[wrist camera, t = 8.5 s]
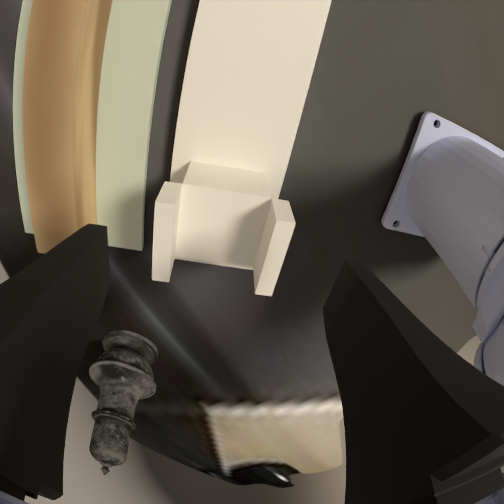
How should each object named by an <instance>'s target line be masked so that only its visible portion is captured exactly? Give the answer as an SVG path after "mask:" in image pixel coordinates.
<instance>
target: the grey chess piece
mask: <svg viewBox="0 0 504 504" xmlns="http://www.w3.org/2000/svg"><path fill="white" fill-rule="evenodd" d="M102 346H103V348H104V350H105V352H104V353H103V354H102V355H101V356H100V357H99V358H98V359H97V360H96V362H95V363H93V364H92V365H91V366H90V369H89V374H90V377H91V379H92V380H93V382H94V383H95V384H96V385H97V386H99V387H100V398H99V402H98V406H97V410H96V411H93V412H92V418H93V419H94V420H95V424H94V428H93V433H92V438H91V442H90V452H91V455H92V456H93V457H94V458H95V459H96V460H97V461H99V462H100V464H102V465H103V467H102V468H101V469H102V472H103V474H104V475H106V474H107V473H108V472H109V469H108V468H109V467H112V466H117V465H121V464H122V463H124V462H125V460H126V458H127V452H128V445H129V438H130V432H131V431H133V430H135V429H136V424H135V423H134V422H133V419H134V414H135V408H136V404H137V402H138V400H139V399H145V398H148V397H150V396H152V395H153V394H154V393H155V392H156V384H155V381H154V375H153V372H152V368H151V366H150V365H152V364H153V363H155V362H156V360H157V359H158V350H157V348H156V346H155V345H154V344H153V343H152V342H151V341H150V340H149V339H148V338H146V337H144V336H142V335H140V334H138V333H135V332H132V331H127V330H114V331H110V332H108V333H106V334H105V335H104V337H103V340H102Z"/></svg>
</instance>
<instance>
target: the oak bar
mask: <svg viewBox="0 0 504 504" xmlns="http://www.w3.org/2000/svg"><path fill="white" fill-rule="evenodd" d="M112 1H113V0H33V3H32V9H31V14H30V21H29V27H28V35H27V43H26V53H25V64H24V80H23V143H24V159H25V171H26V181H27V190H28V198H29V206H30V212H31V219H32V225H33V231H34V236H35V241H36V246H37V251H38V252H39V253H44V254H45V253H47V252H48V251H49V250H51V249H52V248H54V247H55V246H56V245H58V244H59V243H61V242H62V241H63V240H65V239H66V238H67V237H69V236H70V235H72V234H73V233H75V232H76V231H77V230H79V229H80V228H82V227H84V226H85V225H87V224H96V225H97V208H96V133H97V114H98V99H99V88H100V78H101V69H102V60H103V53H104V46H105V39H106V33H107V27H108V21H109V16H110V11H111V6H112Z"/></svg>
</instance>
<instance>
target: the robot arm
mask: <svg viewBox="0 0 504 504" xmlns="http://www.w3.org/2000/svg"><path fill="white" fill-rule="evenodd" d="M435 120H437V124H436V126H434V121H435ZM503 158H504V151H502V150H501V149H499V148H498V147H496V146H494V145H493V144H491V143H489V142H487V141H486V140H484V139H482V138H480V137H479V136H477V135H475V134H473V133H471V132H469V131H468V130H466V129H464V128H462V127H460V126H458V125H456V124H454V123H452V122H450V121H448V120H446V119H444V118H442V117H440V116H438V115H436V114H434V113H432V112H425V113H423V115H422V117H421V119H420V122H419V125H418V128H417V131H416V134H415V137H414V139H413V142H412V145H411V148H410V150H409V153H408V156H407V158H406V161H405V163H404V166H403V169H402V171H401V174H400V176H399V179H398V181H397V184H396V186H395V189H394V191H393V194H392V196H391V198H390V201H389V203H388V205H387V208H386V210H385V212H384V215H383V217H382V220H381V222H382V225H383V226H384V227H385V228H386V229H390V230H395V231H400V232H404V233H408V234H413V235H417V236H422V237H425V238H426V239H427V241H428V242H429V243H430V244H431V246H432V247H433V248H434V250H435V251H436V252H437V254H438V255H439V256H440V258H441V259H442V260H443V262H444V263H445V265H446V266H447V267H448V269H449V270H450V271H451V273H452V274H453V276H454V277H455V279H456V280H457V281H458V283H459V284H460V286H461V287H462V289H463V290H464V292H465V293H466V295H467V296H468V298H469V299H470V301H471V302H472V304H473V305H474V307H475V309H476V310H477V317H476V320H475V322H474V323H473V326H472V327H473V328H474V330H475V332H476V333H477V335H478V337H479V339H480V340H481V344H480V345H479V347H478V349H477V351H476V355H475V358H474V366H472V365H471V364H470V363H468V362H467V361H466V360H464V359H463V358H462V357H460V356H459V355H458V354H457V353H455V352H454V351H453V350H452V349H451V348H449V347H448V346H447V345H446V344H445V343H444V342H442V341H441V340H440V339H439V338H438V337H437V336H436V335H434V334H433V333H432V332H431V331H430V330H429V329H428V328H427V327H426V326H425V325H424V324H423V323H422V322H421V321H420V320H419V319H418V318H417V317H416V316H415V315H414V314H413V313H412V312H411V311H410V310H409V309H408V308H407V307H406V306H405V305H404V304H403V303H402V302H401V301H400V300H399V299H398V298H397V297H396V296H395V295H394V294H393V293H392V292H391V291H390V290H389V289H388V288H387V287H386V286H385V285H384V284H383V283H382V282H381V281H380V280H379V279H378V278H377V277H376V276H375V275H374V274H373V273H372V272H371V271H370V270H369V269H367V268H366V267H365V266H364V265H363V264H360V263H353V262H347V261H345V262H344V264H343V266H342V269H341V271H340V273H339V275H338V277H337V279H336V282H335V284H334V286H333V288H332V290H331V292H330V294H329V296H328V298H327V300H326V303H325V305H324V307H323V314H324V324H325V332H326V338H327V342H328V346H329V351H330V355H331V359H332V363H333V367H334V371H335V375H336V379H337V383H338V387H339V391H340V396H341V401H342V407H343V416H344V426H345V441H346V492H345V504H504V473H503V474H502V472H501V469H500V467H502V466H504V159H503ZM395 221H397V223H396V224H393V223H394V222H395ZM110 280H111V277H110V265H109V251H108V233H107V226H103V225H96V224H87V225H85V226H84V227H82V228H80V229H79V230H77V231H76V232H75V233H73V234H72V235H70V236H69V237H67V238H66V239H65V240H63V241H62V242H61V243H59V244H58V245H56V246H55V247H54V248H52V249H51V250H49V251H48V252H47V253H45V254H44V255H43V256H41V257H40V258H38V259H37V260H35V261H34V262H32V263H31V264H30V265H28V266H27V267H25V268H24V269H22V270H21V271H19V272H18V273H17V274H15V275H14V276H12V277H11V278H9V279H8V280H6V281H5V282H3V283H2V284H0V504H29V503H27V502H24V499H25V495H26V496H29V497H31V498H34V499H37V497H38V495H40V496H43V497H46V498H49V499H51V500H56V499H58V498H60V497H61V496H62V495H63V459H64V448H65V438H66V429H67V423H68V415H69V410H70V404H71V399H72V394H73V389H74V385H75V380H76V377H77V374H78V371H79V367H80V364H81V362H82V359H83V356H84V354H85V351H86V348H87V346H88V343H89V341H90V338H91V336H92V333H93V331H94V328H95V326H96V323H97V321H98V318H99V316H100V313H101V311H102V308H103V305H104V302H105V298H106V295H107V291H108V288H109V284H110Z"/></svg>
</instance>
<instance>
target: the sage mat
mask: <svg viewBox="0 0 504 504" xmlns="http://www.w3.org/2000/svg"><path fill="white" fill-rule="evenodd" d="M32 3H33V0H23V2H22V8H21V14H20V20H19V27H18V34H17V42H16V52H15V64H14V82H13V133H14V151H15V163H16V174H17V183H18V191H19V198H20V205H21V211H22V217H23V223H24V228H25V233H31V234H34V231H33V225H32V219H31V212H30V206H29V198H28V190H27V181H26V171H25V159H24V143H23V80H24V64H25V53H26V43H27V35H28V27H29V21H30V14H31V9H32ZM171 3H172V0H113V1H112V6H111V11H110V16H109V21H108V27H107V33H106V39H105V46H104V53H103V60H102V69H101V78H100V88H99V99H98V114H97V133H96V208H97V225H103V226H107V233H108V246H113V247H119V248H126V249H132V250H139V251H142V249H143V247H144V213H145V193H146V177H147V164H148V152H149V141H150V131H151V122H152V114H153V106H154V98H155V91H156V84H157V77H158V71H159V64H160V58H161V53H162V47H163V42H164V36H165V31H166V26H167V21H168V16H169V12H170V7H171Z"/></svg>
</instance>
